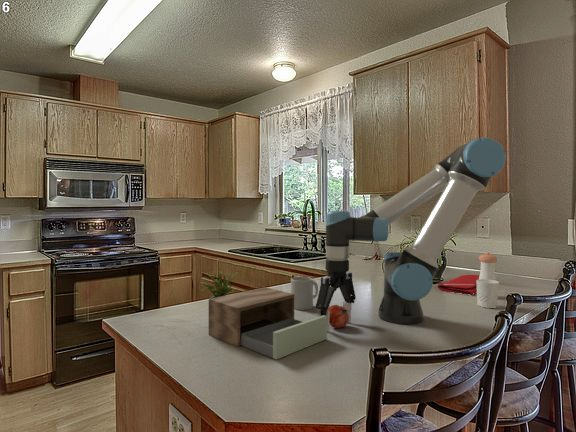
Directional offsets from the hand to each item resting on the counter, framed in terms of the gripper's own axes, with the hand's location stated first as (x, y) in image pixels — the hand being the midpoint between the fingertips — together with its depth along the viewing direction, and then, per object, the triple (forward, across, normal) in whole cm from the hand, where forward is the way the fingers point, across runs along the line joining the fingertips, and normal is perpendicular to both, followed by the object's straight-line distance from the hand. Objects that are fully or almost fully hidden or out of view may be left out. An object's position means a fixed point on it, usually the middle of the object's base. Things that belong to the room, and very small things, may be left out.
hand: (336, 326), depth 125 cm
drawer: (0, +22, -2) cm, 22 cm away
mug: (0, -11, -23) cm, 25 cm away
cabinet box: (0, +22, -16) cm, 27 cm away
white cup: (0, -62, +27) cm, 68 cm away
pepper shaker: (0, -79, +22) cm, 82 cm away
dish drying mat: (+1, -96, +8) cm, 96 cm away
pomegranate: (0, 0, 0) cm, 0 cm away
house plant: (0, +18, -37) cm, 41 cm away
